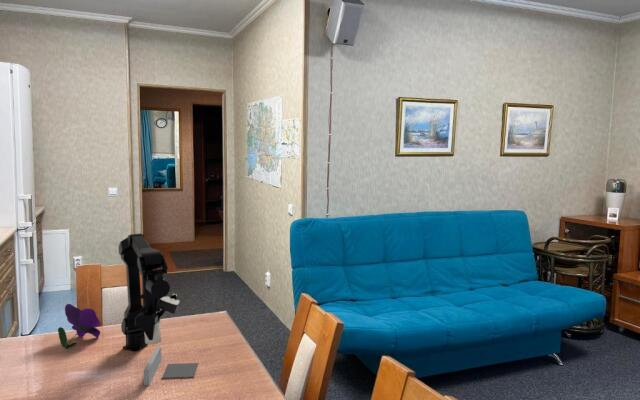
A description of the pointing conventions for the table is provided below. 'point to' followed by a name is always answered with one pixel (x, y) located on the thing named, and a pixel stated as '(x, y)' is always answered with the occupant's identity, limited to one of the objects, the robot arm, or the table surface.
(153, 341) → the cream rounded cone
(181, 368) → the mat
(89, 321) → the flower
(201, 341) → the table surface
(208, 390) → the table surface
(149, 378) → the wall
